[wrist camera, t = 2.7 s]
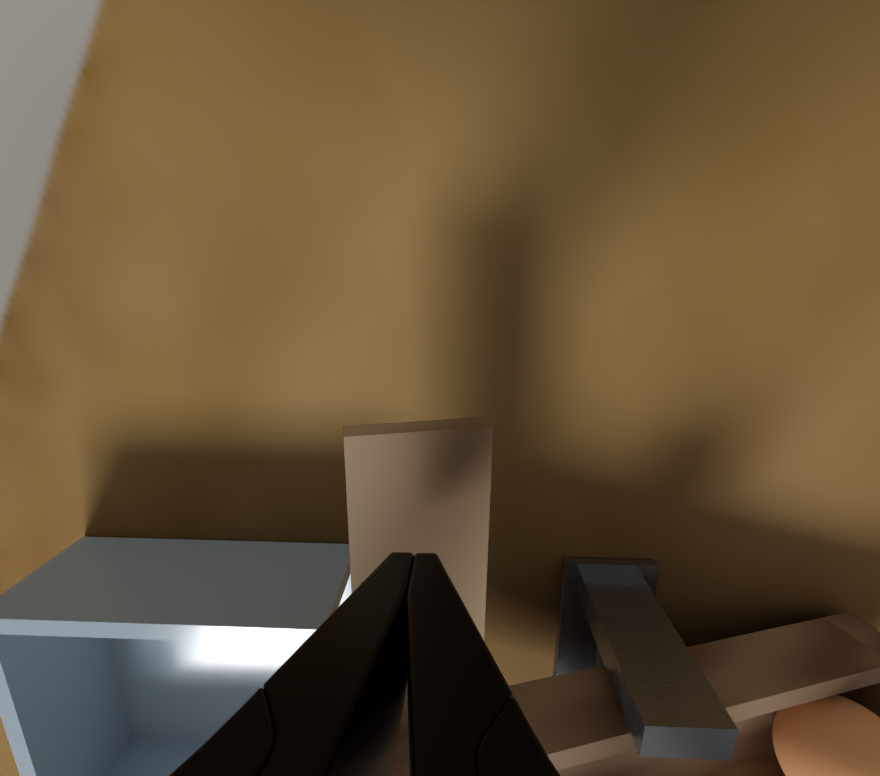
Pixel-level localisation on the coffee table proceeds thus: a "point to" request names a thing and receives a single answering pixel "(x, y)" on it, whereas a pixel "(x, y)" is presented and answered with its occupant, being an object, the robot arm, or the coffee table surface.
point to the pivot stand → (640, 659)
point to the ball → (827, 739)
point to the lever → (590, 690)
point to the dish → (151, 645)
